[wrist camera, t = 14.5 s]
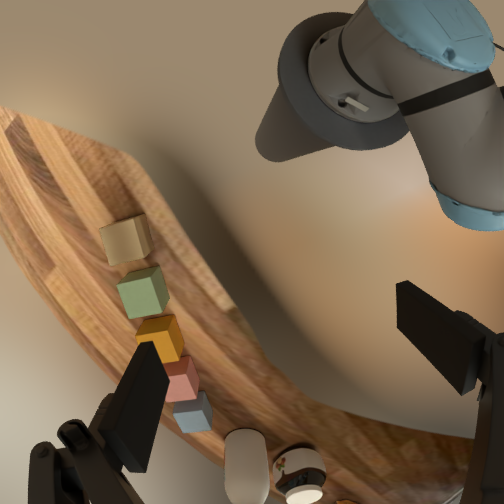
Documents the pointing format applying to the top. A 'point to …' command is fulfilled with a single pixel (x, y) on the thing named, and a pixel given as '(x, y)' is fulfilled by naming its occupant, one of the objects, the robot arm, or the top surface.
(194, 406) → the blue-grey block
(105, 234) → the birch block
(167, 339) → the ochre block
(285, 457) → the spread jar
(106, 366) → the top surface
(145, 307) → the sage block
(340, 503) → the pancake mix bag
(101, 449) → the robot arm
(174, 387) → the dusty pink block
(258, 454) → the milk bottle
